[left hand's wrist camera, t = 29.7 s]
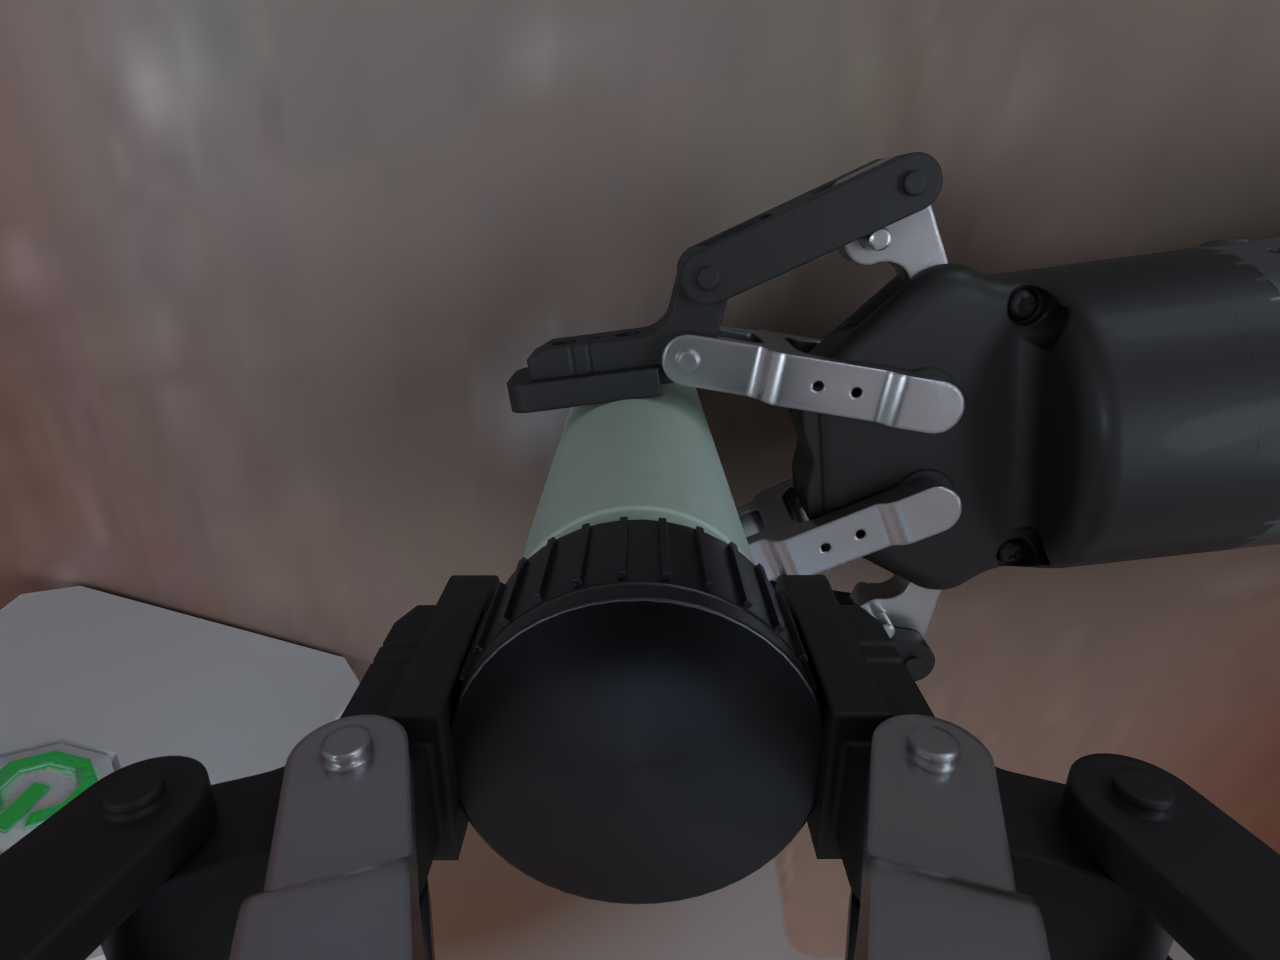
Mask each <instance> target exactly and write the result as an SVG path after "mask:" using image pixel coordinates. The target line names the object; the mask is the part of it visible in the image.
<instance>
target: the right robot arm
mask: <svg viewBox="0 0 1280 960" xmlns="http://www.w3.org/2000/svg"><path fill="white" fill-rule="evenodd" d="M942 179H943V177H942V171H941V168H940V166H939V164H938V162H937V161H936V160H935V159H934V158H933V157H932V156H930V155H928V154H926V153H922V152H914V153H909V154H903V155H898V156H893V157H888V158H883V159H878V160H874V161H872V162H870V163H868V164H866V165H864V166H861V167H859V168H857V169H855V170H853V171H851V172H849V173H847V174H844V175H842V176H840V177H838V178H836V179H834V180H832V181H830V182H827V183H825V184H823V185H821V186H819V187H817V188H815V189H813V190H811V191H808V192H806V193H804V194H802V195H800V196H798V197H796V198H794V199H791V200H789V201H787V202H785V203H783V204H781V205H779V206H777V207H774V208H772V209H770V210H768V211H766V212H764V213H762V214H760V215H758V216H755V217H753V218H751V219H749V220H747V221H745V222H743V223H741V224H738V225H736V226H734V227H732V228H730V229H728V230H726V231H724V232H722V233H719V234H717V235H715V236H713V237H711V238H709V239H707V240H705V241H702V242H700V243H698V244H696V245H694V246H692V247H690V248H688V249H687V250H686V251H685V252H684V253H683V254H682V255H681V257H680V259H679V261H678V265H677V274H676V279H675V283H674V287H673V292H672V296H671V300H670V304H669V307H668V309H667V311H666V313H665V314H664V316H663V317H662V318H661V319H660V320H659V321H657V322H656V323H654V324H653V325H650V326H647V327H642V328H634V329H627V330H619V331H611V332H603V333H596V334H588V335H580V336H575V337H574V336H573V337H565V338H557V339H552V340H551V341H549V342H547V343H545V344H544V345H542V346H540V347H538V348H537V349H535V350H534V352H533V353H532V354H531V356H530V357H529V358H528V359H527V363H528V367H527V368H523V369H520V370H518V371H516V372H515V373H514V374H513V376H512V377H511V378H510V380H509V381H508V382H507V387H508V392H509V397H510V402H511V407H512V411H513V412H516V413H528V412H537V411H545V410H553V409H561V408H569V407H577V406H585V405H593V404H601V403H609V402H615V401H620V400H627V399H641V398H649V397H657V396H662V393H661V385H662V384H670V383H676V384H679V385H682V386H688V387H694V388H700V389H706V390H713V391H719V392H725V393H731V394H737V395H743V396H749V397H752V398H755V399H758V400H760V401H762V402H764V403H767V404H771V405H775V406H781V407H787V408H789V412H790V415H791V418H792V421H793V423H794V426H795V429H796V432H797V435H798V440H797V445H796V449H795V454H794V458H793V463H792V472H793V479H790V480H788V481H785V482H783V483H780V484H778V485H775V486H773V487H770V488H768V489H765V490H763V491H762V492H760V493H759V494H757V495H756V496H755V497H754V499H753V500H752V501H751V502H750V503H748V504H747V505H744V506H742V507H739V508H737V512H738V515H739V518H740V521H741V524H742V527H743V530H744V533H745V536H746V539H747V542H748V545H749V548H750V551H751V554H752V557H753V560H754V563H755V565H757V564H759V563H760V564H761V565H762V566H763V567H764V569H765V572H766V575H767V578H768V580H769V581H770V583H771V585H772V586H773V588H774V589H776V581H772V580H774V579H777V578H778V576H779V575H816V574H818V573H821V572H823V571H826V570H829V569H831V568H834V567H837V566H839V565H842V564H844V563H847V562H850V561H852V560H855V559H857V558H860V557H863V558H865V559H867V560H869V561H871V562H873V563H875V564H876V565H878V566H880V567H882V568H884V569H886V570H888V571H890V572H892V573H894V574H895V575H894V576H893V577H892V578H890V579H889V580H887V581H885V582H881V583H866V582H860V583H858V584H856V585H855V587H854V590H853V591H852V593H847V592H841V591H834V590H833V592H834V594H835V596H836V598H837V600H838V603H839V605H859V606H861V607H862V608H863V609H864V610H866V611H867V612H868V613H870V614H871V615H872V616H874V617H875V618H876V619H878V620H879V621H880V622H881V623H882V625H883V627H884V628H885V630H886V632H887V634H888V635H889V637H890V639H891V641H892V646H895V648H896V650H897V651H898V653H899V655H900V657H901V658H902V663H904V664H905V665H906V667H907V669H908V671H909V672H910V674H911V676H912V678H913V679H914V681H918V680H920V679H922V678H924V677H926V676H927V675H928V674H929V673H930V672H931V671H932V669H933V667H934V664H935V658H934V655H933V653H932V651H931V649H930V648H929V646H928V645H927V643H926V641H925V635H926V632H927V629H928V626H929V623H930V621H931V618H932V615H933V612H934V609H935V607H936V604H937V601H938V598H939V595H940V593H941V590H943V589H949V588H952V587H956V586H958V585H960V584H962V583H964V582H966V581H967V580H969V579H970V578H972V577H974V576H976V575H978V574H980V573H982V572H984V571H987V570H989V569H993V568H996V567H1001V566H1022V567H1038V568H1066V567H1075V566H1084V565H1092V564H1101V563H1110V562H1119V561H1128V560H1137V559H1146V558H1155V557H1164V556H1174V555H1183V554H1192V553H1201V552H1211V551H1220V550H1229V549H1238V548H1247V547H1256V546H1265V545H1274V544H1280V237H1275V238H1267V239H1260V240H1254V239H1241V238H1231V239H1224V240H1218V241H1213V242H1209V243H1205V244H1201V245H1200V246H1199V247H1196V248H1192V249H1184V250H1177V251H1170V252H1162V253H1154V254H1146V255H1138V256H1131V257H1123V258H1116V259H1108V260H1100V261H1093V262H1085V263H1078V264H1070V265H1062V266H1055V267H1047V268H1040V269H1032V270H1024V271H1017V272H1009V273H1002V274H982V273H980V272H977V271H975V270H973V269H971V268H969V267H966V266H963V265H959V264H951V263H948V260H947V257H946V254H945V250H944V247H943V244H942V240H941V237H940V233H939V230H938V227H937V223H936V220H935V217H934V213H933V210H932V206H931V204H932V203H933V202H934V201H935V199H936V198H937V196H938V194H939V193H940V190H941V187H942ZM836 249H837V250H838V252H839V253H840V254H841V255H842V256H843V257H844V258H845V259H847V260H849V261H852V262H856V263H859V264H863V265H873V264H877V263H880V262H888V263H890V264H891V265H892V266H893V267H894V268H895V270H896V272H897V274H898V275H897V276H895V277H894V278H893V279H892V280H891V281H890V282H889V283H887V284H886V285H885V286H884V287H883V288H882V289H881V290H879V291H878V292H877V293H876V294H875V295H874V296H873V297H871V298H870V299H869V300H868V301H867V302H866V303H865V304H863V305H862V306H861V307H860V308H859V309H858V310H856V311H855V312H854V313H853V314H852V315H851V316H850V317H848V318H847V319H846V320H845V321H844V322H843V323H842V324H840V325H839V326H838V327H837V328H836V329H835V330H834V331H832V332H831V333H830V334H829V335H828V336H827V337H825V338H824V339H823V340H821V339H815V338H809V337H803V336H797V335H792V334H786V333H780V332H774V331H768V330H760V329H753V330H747V329H740V328H734V327H728V326H722V325H721V322H722V318H723V314H724V310H725V306H726V302H727V299H729V298H731V297H733V296H735V295H737V294H740V293H742V292H744V291H746V290H748V289H751V288H753V287H755V286H757V285H759V284H762V283H764V282H766V281H768V280H770V279H772V278H775V277H777V276H779V275H781V274H783V273H786V272H788V271H790V270H792V269H794V268H797V267H799V266H801V265H803V264H805V263H808V262H810V261H812V260H814V259H816V258H819V257H821V256H823V255H825V254H827V253H829V252H832V251H834V250H836Z"/></svg>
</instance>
